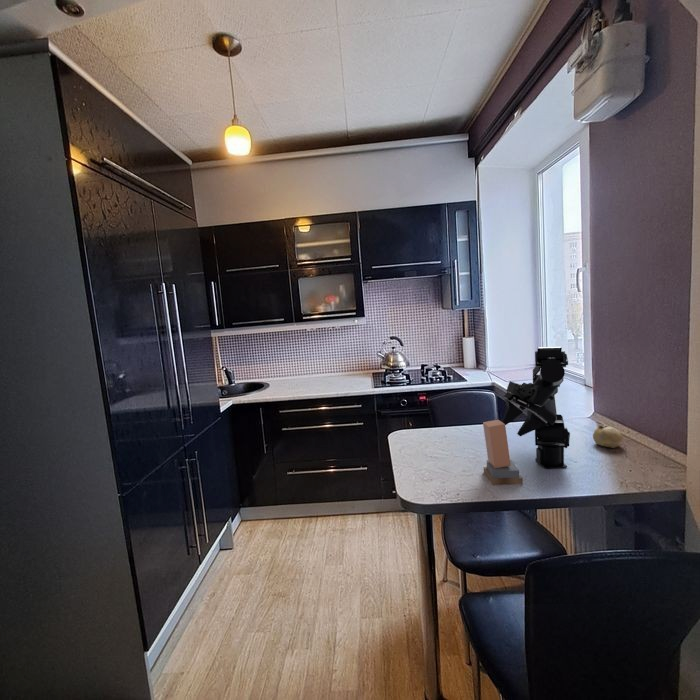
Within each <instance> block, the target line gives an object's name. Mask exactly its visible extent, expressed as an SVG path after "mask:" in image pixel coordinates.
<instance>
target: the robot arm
mask: <svg viewBox="0 0 700 700" xmlns="http://www.w3.org/2000/svg"><path fill="white" fill-rule="evenodd" d="M534 365H535V367H534V368H533V369H532V382H528V383H527V382H523V383H521V384H520V383H517V382H514V381H511V380H509V382H508V385H507V387H506V393H505V394H504V396H503V398H504V402H505V404H506V408H505V412H504V415H503V418H502V420H501V422H503V423H504V424H505V426H507V425H509V424H510V423H511V422H512V421H513V420H515V419H516V418H518V417H519V416H520V415H522V414H523V413H524V410H527V411H526V412H527V417H526V419H525V421H524V422H523V423H522V425H521V426H520V428H519V429H518V431H517V434H516V435H518V436H519V437H522V436H524V435H527V434H529V433H530V432H531V433H532V432H533V431H534V446H537V447H536V448H535V451H536V452H535V455H536V458H535V459H534V460H535V461H536V462H537V463H538V464H539V465H540V466H541V467H543V469H545V470H546V469H561V468H562V469H564V468H568V465H567V464H566V463H565V449H568V447H570V440H571V439H570V437H571V432H570V431H569V430H568V427H567V426H566V427H565V422H564V418H563V417H564V416H563V415H562V414H558V413H557V406H556V396H555V395H556V394H557V393H559V388H560V387H561V384H562V383H564V382H565V381H564V376H565V373H566V372H565V368H567V366H569V360H568V354H567V353H566V351H565V350H563V349H562V347H561V346H540V347H537V350H535V351H534Z"/></svg>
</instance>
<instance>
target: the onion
mask: <svg viewBox="0 0 700 700" xmlns="http://www.w3.org/2000/svg"><path fill="white" fill-rule="evenodd" d="M592 439H593V440H594V442H595V444H597V445H599V446H601V447H606V448H611V449H615V448H618V447H619V446H620V445H621V444H622V443H623V440H624V437H623V434H622V432H620V431H619V430H617V429H616V428H615V427H612V426H609V425H607V424H605V423H604V424H599V425H598V426H597V427H596V429H594V432H593V434H592Z"/></svg>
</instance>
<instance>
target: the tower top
mask: <svg viewBox="0 0 700 700" xmlns="http://www.w3.org/2000/svg"><path fill="white" fill-rule="evenodd" d="M510 464H511V466H506V467H500V468H494V467H493V466H492V465H491V464H490V463H489V462H488V459H486V467H487V469H488V471H489V472H490V474H491V476H492V478H519V475H520V469H519V468H518V467H517V465H516V464H515V463H514V462H513V460H512V459H510Z"/></svg>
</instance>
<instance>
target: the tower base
mask: <svg viewBox="0 0 700 700" xmlns="http://www.w3.org/2000/svg"><path fill="white" fill-rule="evenodd" d="M483 473H484V475H485V476H486V477H487V479H488V480H489V481H490V483H491V485H493V486H504V485H520V484H523V477H522V475H520V474H519V478H492V476H491V474H490V472H489V471H488V469H487V466H484V467H483Z"/></svg>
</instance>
